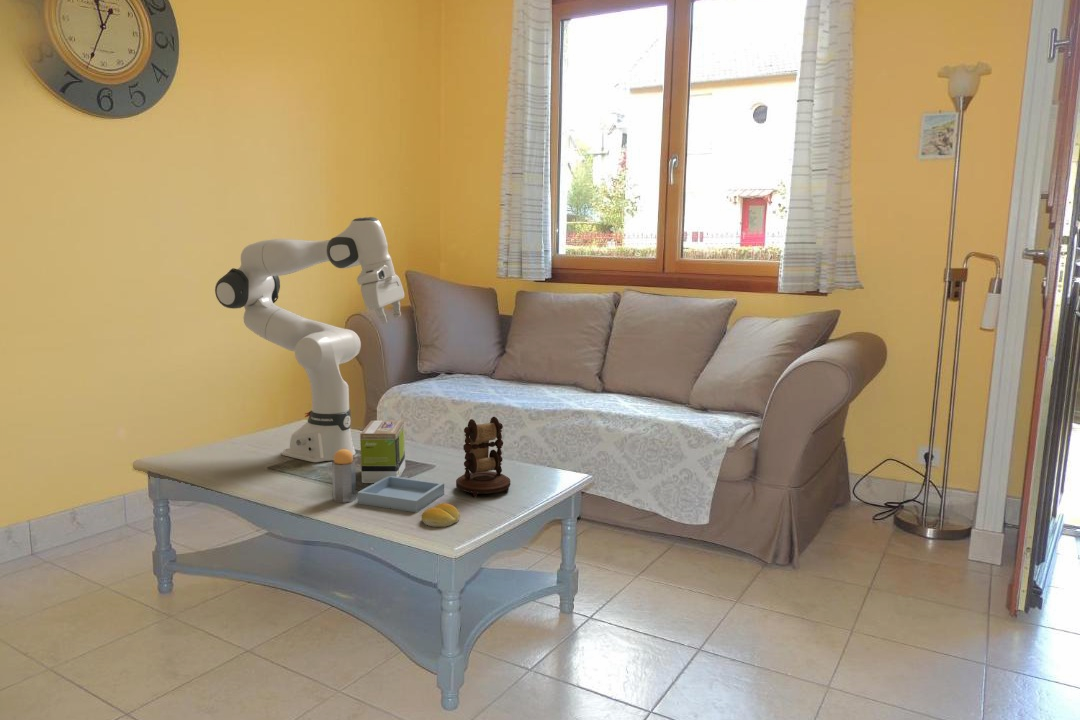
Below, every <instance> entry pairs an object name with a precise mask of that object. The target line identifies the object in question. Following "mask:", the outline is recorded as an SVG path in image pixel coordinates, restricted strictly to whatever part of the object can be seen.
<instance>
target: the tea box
mask: <svg viewBox="0 0 1080 720" xmlns="http://www.w3.org/2000/svg"><path fill="white" fill-rule="evenodd" d="M359 436H360V437H359V440H360V441H359V443H360V462H361V463H360V465H361V467H360V468H361V483H362V484H363V483H376V482H378V481H379V480H381V479H383V478H385V477H387V476H395V477H401V476H402V474H403V473H404V471H405V469H406V450H405V449H406V448H405V447H406V446H405V421H404V420H370V421H369V422H368V424H367V425H366V426H365V427H364V429H363V430H362V432H361V433H360V434H359Z"/></svg>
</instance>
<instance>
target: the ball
mask: <svg viewBox="0 0 1080 720" xmlns="http://www.w3.org/2000/svg"><path fill="white" fill-rule="evenodd" d="M353 460H354V455H352V453H351V452H350V451H349V450H347V449H341V450H339V451H337V452H336V454H335V456H334V460H333V461H334V462H335V463H336V464H341V465H344V464H350V463H352V461H353Z"/></svg>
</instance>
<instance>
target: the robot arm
mask: <svg viewBox="0 0 1080 720" xmlns="http://www.w3.org/2000/svg"><path fill="white" fill-rule="evenodd" d="M388 246H389V244H388V240H387V237H386V234H385V231H384V228H383V225H382V224H381V221H380V220H379V219H378V218H376V217H374V216H373V217H372V216H370V217H368V216H367V217H356V218H354V219H352V220H351V221H350V223H349V225H348V226H347V228H344V230H343V231H342V232H340V233H338V234H337V235H335V236H334V237H332V238H330V239H327V240H305V239H293V238H274V239H273V238H271V239H266V240H265V239H264V240H261V241H257V242H253V243H251V244H248V245H246V246H245V247H244V248H243V249H242V251H241V254H240V263H241V264H240V266H239V267H238V268H234V267H233V268H231V269H230V270H228V271H227V273H226V274H224V275H223V276H221V278H219V279H218V280H217V282H216V283H215V287H214V293H215V297H216V300H217V301H218V303H219V304H220V305H221V306H223V307H225V308H227V309H241V308H243V307H244V313H243V323H244V325H245V327H246V328H247V329H248V330H250V331H252V332H253V333H254V334H255V335H257V336H259V337H260V338H262V339H263V340H266V341H268V342H270V343H273V344H274V345H277V346H279V347H281V348H284V349H285V350H288V351H291V352H294V356H295V359H296V361H297V363H298V364H299V366H301V367H302V369H303V370H304V371H305V372H306V374H307V378H308V380H309V384H310V391H311V392H310V393H311V410H310V411H308V412H305V413H304V415H305V416H304V418H307V417H308V419H307V422H305V423H304V424H303V425H302V426H300V427H299V428H298V429H297V430H295V431H294V432H293V433H292V434H291V437H290V441H289V446H288V447H286V448H284V449H283V450H282V452H281V455H282V456H286V457H290V458H292V459H298V460H302V461H306V462H311V463H320V462H326V461H327V462H329V461H334V456H335V454H336V452H337V451H339V450H341V449H347V450H349V451H350V452H351V453H352V455H353V456H355V455H356V452H357V451H356V449H355V447H354V443H353V439H352V438H353V437H352V431H351V424H352V413H351V408H350V394H349V393H350V389H349V388H350V386H349V384H348V382H347V381H345V380H344V378H343V377H342V373H341V370H340V365H342V364H345V363H348V362H349V361H351V360H353V359H354V358H355V357H357V356H358V355H359V354H360V351H361V347H362V342H361V338H360V336H359V335H358V333H356V332H355V331H354V330H352V329H348V328H343V327H338V326H336V325H332V324H329V323H326V322H321V321H319V320H318V321H317V320H313V319H310V318H306V317H304V316H302V315H299V314H297V313H294V312H293V311H290V310H287V309H286V308H283V307H281V306H278V305H276V304H275V303H276V302H277V301H278V299H279V293H280V289H281V280H280V276H287V275H291V274H294V273H297V272H300V271H303V270H305V269H308V268H310V267H313V266H316V265H319V264H323V263H326V262H330V263H331V265H333V266H334V268H338V269H349V268H353V267H357V266H360V268H361V271H360V273H359V275H358V276H357V278H356V281H357V284H358V285H359V286H360V293H361V295H362V300H363V302H364V305H365V308H367V310H368V311H374V312H375V314H376V315H377V317H378V319H379V321H380V324H386V323H388V322H389V318H388V316H387V314H386V313H385V308H384V307H386V306H388V305H391V306H392V310H393V311H392V316H393V318H399V317H401V316H402V312H401V301H400V300H403V299H405V296H406V295H405V291H404V287H403V284H402V281H401V279H400V276H399V275H397V274H396V270H395V268H394V264H393V260H392V256H391V255H390V253H389V249H388V248H389V247H388Z"/></svg>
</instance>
